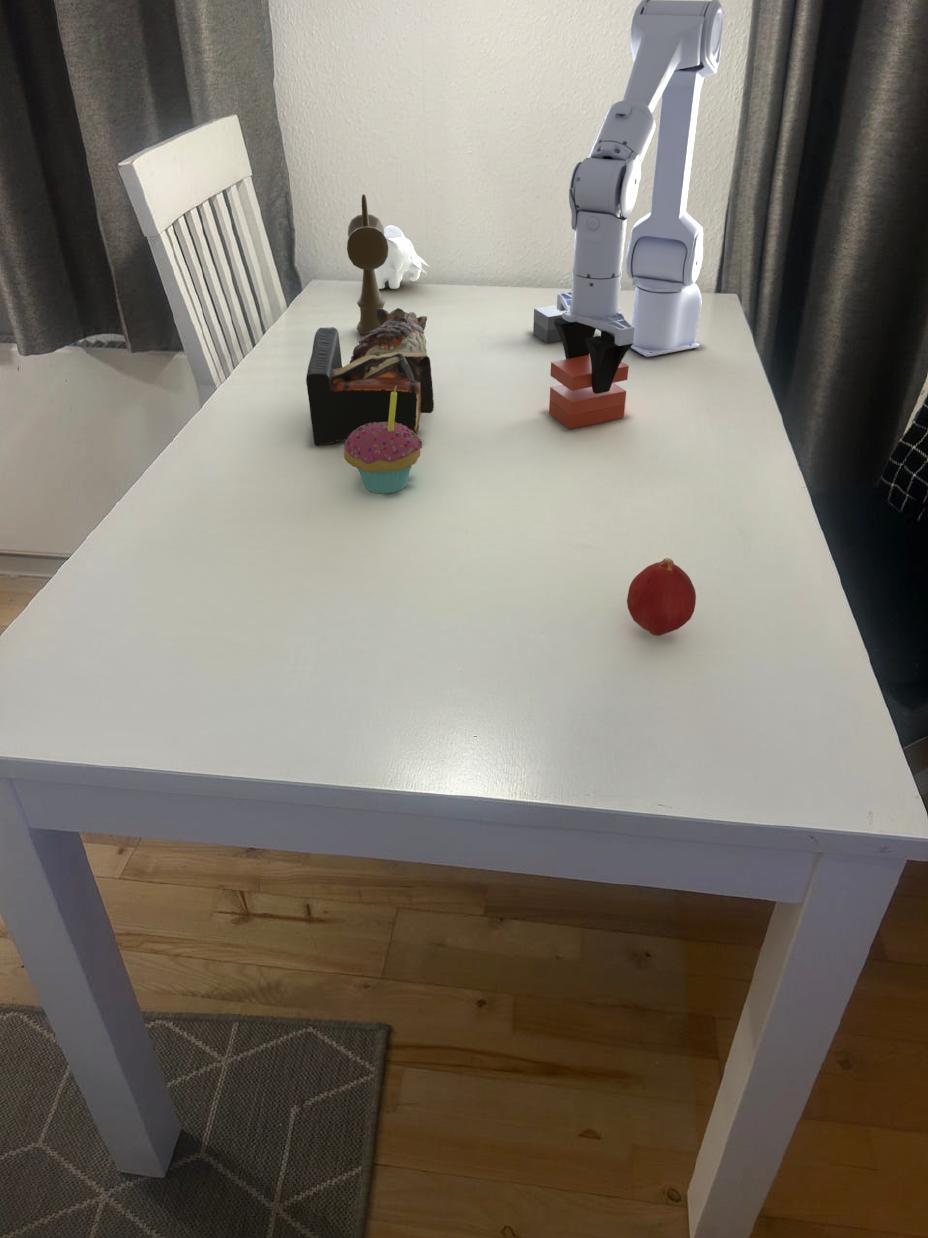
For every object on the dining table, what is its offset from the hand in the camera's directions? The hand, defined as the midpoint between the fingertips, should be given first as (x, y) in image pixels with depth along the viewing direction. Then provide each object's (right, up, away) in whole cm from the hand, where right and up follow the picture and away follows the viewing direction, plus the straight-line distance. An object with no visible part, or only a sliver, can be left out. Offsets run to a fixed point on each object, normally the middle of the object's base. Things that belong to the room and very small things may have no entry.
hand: (588, 382), depth 115 cm
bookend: (-27, -1, +6) cm, 28 cm away
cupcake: (-25, -15, -12) cm, 31 cm away
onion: (+1, -31, -34) cm, 46 cm away
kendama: (-30, +15, +28) cm, 44 cm away
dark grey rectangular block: (0, +14, +26) cm, 30 cm away
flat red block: (0, 0, 0) cm, 1 cm away
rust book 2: (0, -2, +2) cm, 3 cm away
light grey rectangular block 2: (0, +16, +25) cm, 30 cm away
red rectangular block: (0, -4, +3) cm, 4 cm away
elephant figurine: (-28, +29, +47) cm, 62 cm away
